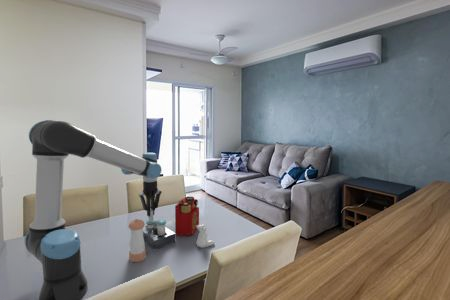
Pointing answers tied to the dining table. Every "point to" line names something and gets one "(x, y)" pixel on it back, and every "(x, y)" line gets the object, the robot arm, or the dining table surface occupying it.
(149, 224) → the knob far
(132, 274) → the dining table surface
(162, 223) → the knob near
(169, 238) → the mount
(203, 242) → the sitting furry creature
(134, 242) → the salt shaker
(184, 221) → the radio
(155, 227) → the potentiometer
